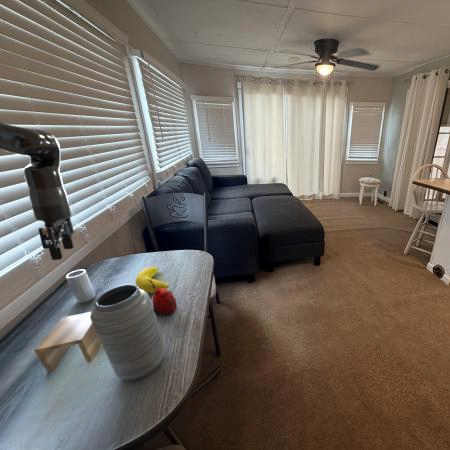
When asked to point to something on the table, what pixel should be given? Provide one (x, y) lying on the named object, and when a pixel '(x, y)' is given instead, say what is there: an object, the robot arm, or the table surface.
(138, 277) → the fruit
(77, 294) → the white cylindrical cup
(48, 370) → the small wooden bench
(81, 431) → the table surface
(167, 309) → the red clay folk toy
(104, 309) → the vase
